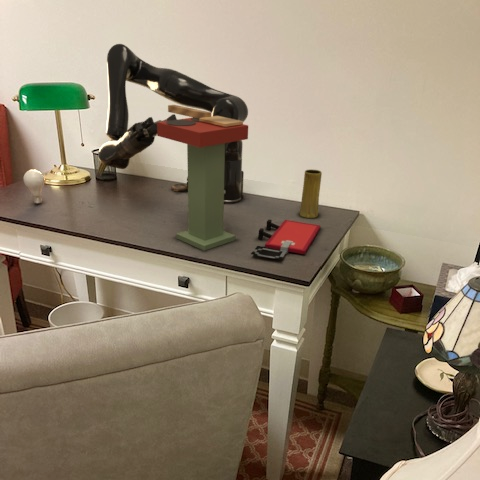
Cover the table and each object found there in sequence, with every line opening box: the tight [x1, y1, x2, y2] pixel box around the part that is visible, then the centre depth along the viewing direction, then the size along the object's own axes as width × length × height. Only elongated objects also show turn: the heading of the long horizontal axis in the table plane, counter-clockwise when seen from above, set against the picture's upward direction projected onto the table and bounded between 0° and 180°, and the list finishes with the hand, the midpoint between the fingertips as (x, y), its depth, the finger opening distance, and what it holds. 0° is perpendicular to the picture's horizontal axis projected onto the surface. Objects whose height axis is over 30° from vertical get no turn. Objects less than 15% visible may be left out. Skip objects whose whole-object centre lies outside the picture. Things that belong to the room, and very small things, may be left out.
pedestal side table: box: [156, 117, 249, 251], centre depth 145 cm, size 18×17×31 cm
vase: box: [298, 169, 323, 219], centre depth 168 cm, size 6×6×14 cm
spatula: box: [167, 104, 244, 127], centre depth 143 cm, size 26×6×2 cm, turn 45°
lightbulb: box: [22, 169, 46, 205], centre depth 169 cm, size 6×6×11 cm
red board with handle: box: [250, 219, 321, 260], centre depth 150 cm, size 30×3×15 cm
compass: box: [171, 176, 188, 193], centre depth 188 cm, size 8×8×7 cm
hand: (163, 118), depth 154 cm, fingers open, 8 cm apart
